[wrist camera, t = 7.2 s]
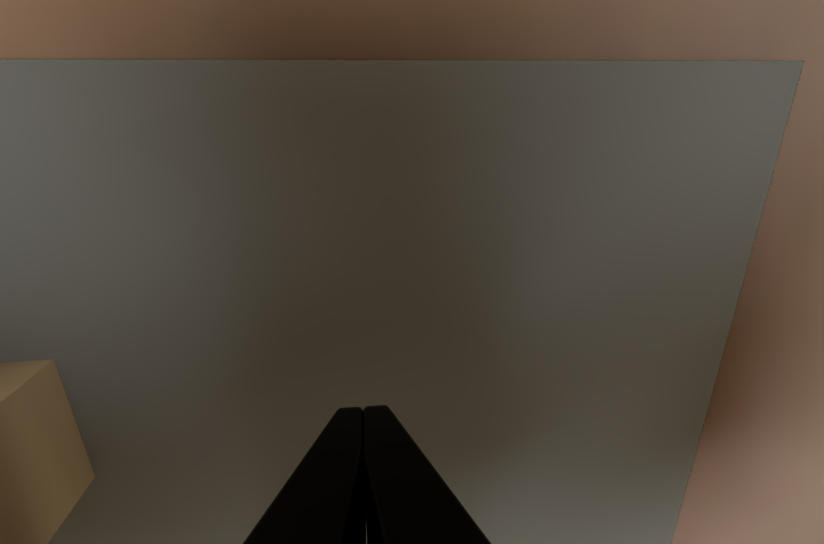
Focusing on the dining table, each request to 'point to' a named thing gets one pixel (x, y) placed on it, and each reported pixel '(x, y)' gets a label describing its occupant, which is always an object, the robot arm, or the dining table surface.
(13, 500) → the long wooden beam
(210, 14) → the dining table surface
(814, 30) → the dining table surface
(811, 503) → the dining table surface
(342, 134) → the mat
